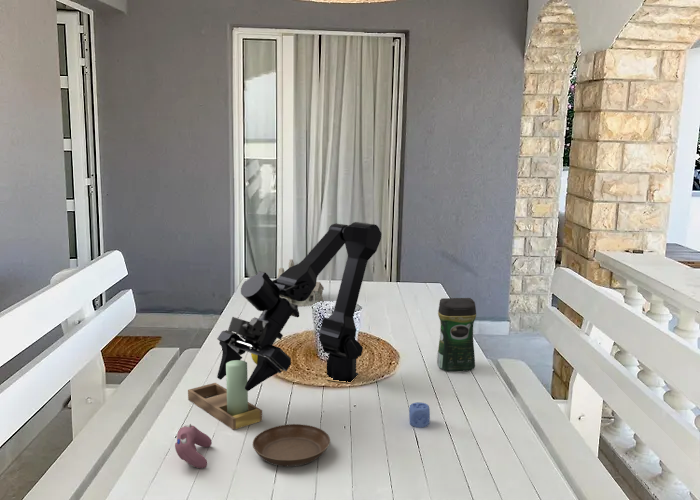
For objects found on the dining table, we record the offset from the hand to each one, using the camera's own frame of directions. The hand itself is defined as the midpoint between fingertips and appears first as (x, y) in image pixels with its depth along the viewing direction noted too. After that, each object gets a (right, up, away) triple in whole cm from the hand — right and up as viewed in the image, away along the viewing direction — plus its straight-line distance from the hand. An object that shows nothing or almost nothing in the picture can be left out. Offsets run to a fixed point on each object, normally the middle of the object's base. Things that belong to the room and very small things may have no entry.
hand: (232, 384), depth 144 cm
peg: (+1, -8, +2) cm, 8 cm away
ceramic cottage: (+6, +9, +97) cm, 98 cm away
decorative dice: (+39, -9, +1) cm, 40 cm away
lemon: (+2, -2, +33) cm, 33 cm away
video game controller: (-5, -11, -15) cm, 19 cm away
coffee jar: (+52, -3, +34) cm, 62 cm away
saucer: (+14, -11, -12) cm, 21 cm away
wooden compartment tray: (-3, -7, +7) cm, 10 cm away
